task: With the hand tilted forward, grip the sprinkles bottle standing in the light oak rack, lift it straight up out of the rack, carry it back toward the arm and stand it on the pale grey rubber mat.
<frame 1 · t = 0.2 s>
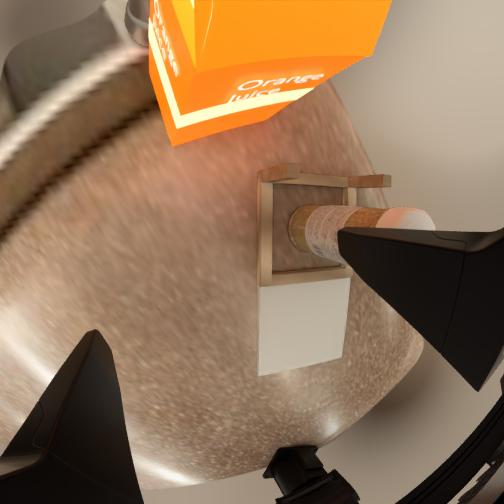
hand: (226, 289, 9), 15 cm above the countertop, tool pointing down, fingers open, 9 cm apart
rack: (307, 227, 27), on the countertop
plastic bottle: (160, 30, 20), on the countertop
orange juice: (207, 94, 22), on the countertop
sprinkles bottle: (306, 227, 27), resting in rack
mat: (303, 323, 28), on the countertop
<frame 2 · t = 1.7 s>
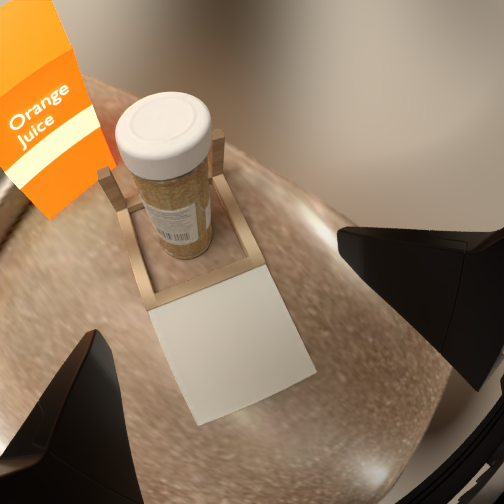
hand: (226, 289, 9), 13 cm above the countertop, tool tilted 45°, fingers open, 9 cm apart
rack: (185, 235, 24), on the countertop
orange juice: (70, 172, 25), on the countertop
sprinkles bottle: (185, 236, 24), resting in rack
mat: (230, 343, 21), on the countertop
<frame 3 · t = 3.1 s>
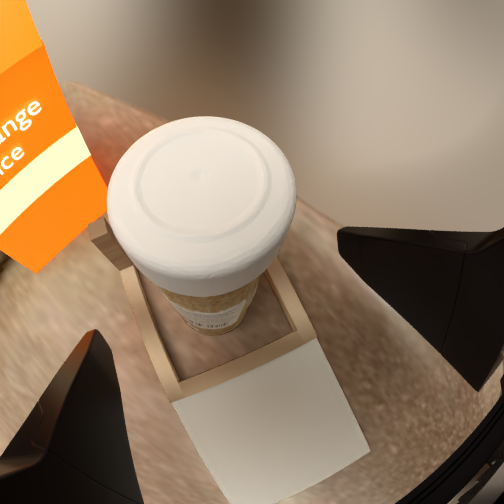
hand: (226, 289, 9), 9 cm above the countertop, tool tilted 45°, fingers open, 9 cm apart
rack: (212, 301, 19), on the countertop
orange juice: (58, 209, 20), on the countertop
sprinkles bottle: (212, 302, 19), resting in rack
mat: (275, 431, 16), on the countertop
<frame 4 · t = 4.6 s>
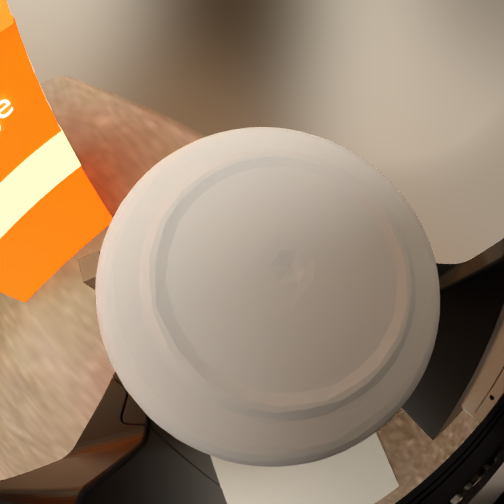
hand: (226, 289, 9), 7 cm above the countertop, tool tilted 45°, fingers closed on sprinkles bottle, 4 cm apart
rack: (233, 341, 15), on the countertop
orange juice: (47, 226, 17), on the countertop
sprinkles bottle: (233, 342, 16), resting in rack, touching gripper
mat: (303, 477, 13), on the countertop
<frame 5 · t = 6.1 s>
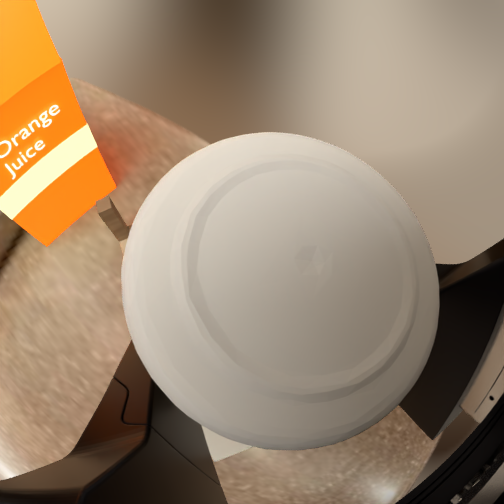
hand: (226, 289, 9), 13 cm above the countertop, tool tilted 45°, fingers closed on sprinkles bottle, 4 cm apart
rack: (194, 267, 22), on the countertop
orange juice: (66, 192, 23), on the countertop
sprinkles bottle: (224, 344, 16), point 5 cm above the countertop, touching gripper
mat: (246, 380, 20), on the countertop
when the fingers open (9 cm above the countertop, at t = 7.5 s): sprinkles bottle stays where it is, resting on mat.
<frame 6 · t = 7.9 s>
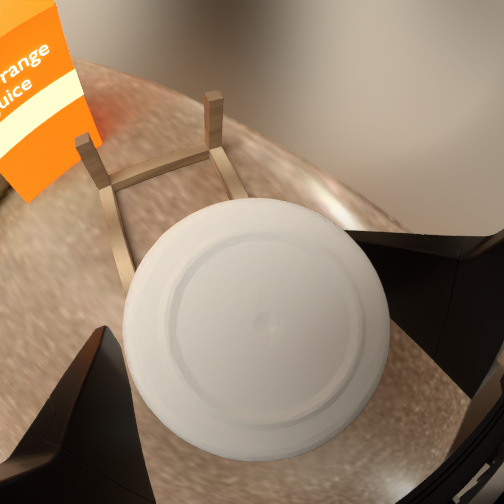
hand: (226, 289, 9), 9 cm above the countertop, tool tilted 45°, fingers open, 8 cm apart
rack: (177, 215, 20), on the countertop
orange juice: (53, 152, 21), on the countertop
sprinkles bottle: (228, 347, 17), resting on mat
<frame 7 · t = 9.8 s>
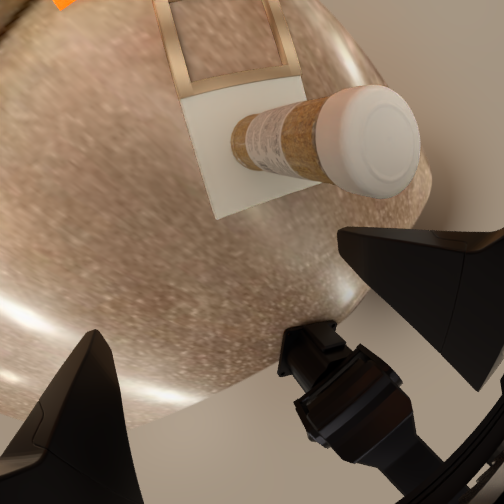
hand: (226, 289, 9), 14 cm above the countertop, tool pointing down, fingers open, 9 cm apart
rack: (225, 32, 18), on the countertop
sprinkles bottle: (255, 142, 21), resting on mat
mat: (256, 139, 22), on the countertop
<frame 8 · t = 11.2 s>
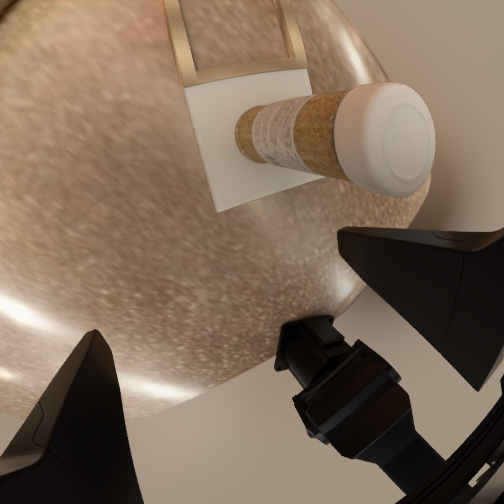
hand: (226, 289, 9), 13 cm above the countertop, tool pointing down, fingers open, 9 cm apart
rack: (232, 21, 16), on the countertop
sprinkles bottle: (259, 134, 20), resting on mat
mat: (260, 131, 21), on the countertop
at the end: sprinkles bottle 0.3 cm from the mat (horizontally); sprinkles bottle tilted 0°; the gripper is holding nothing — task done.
